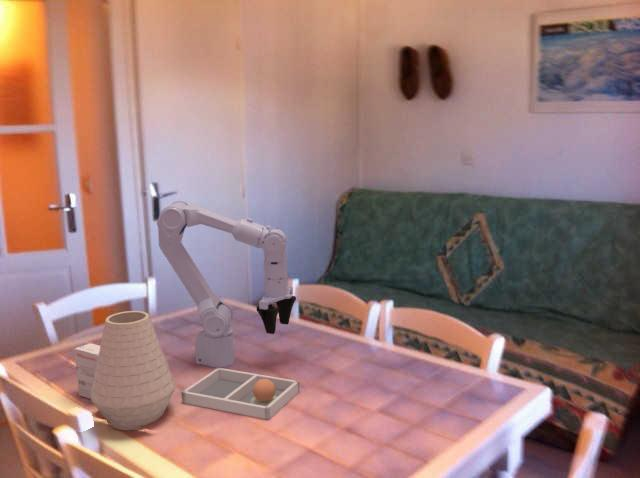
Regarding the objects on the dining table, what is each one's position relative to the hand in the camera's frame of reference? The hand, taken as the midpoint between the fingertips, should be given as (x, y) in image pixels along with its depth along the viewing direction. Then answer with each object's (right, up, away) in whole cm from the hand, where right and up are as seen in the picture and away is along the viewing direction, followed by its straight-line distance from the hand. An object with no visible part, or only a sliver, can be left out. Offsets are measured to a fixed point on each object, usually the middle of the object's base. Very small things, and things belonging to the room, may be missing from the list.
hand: (277, 328), depth 167 cm
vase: (-29, -16, -26) cm, 42 cm away
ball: (-2, -13, -21) cm, 25 cm away
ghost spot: (-2, -13, -21) cm, 25 cm away
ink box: (-41, -14, -14) cm, 46 cm away
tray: (-7, -14, -18) cm, 24 cm away
